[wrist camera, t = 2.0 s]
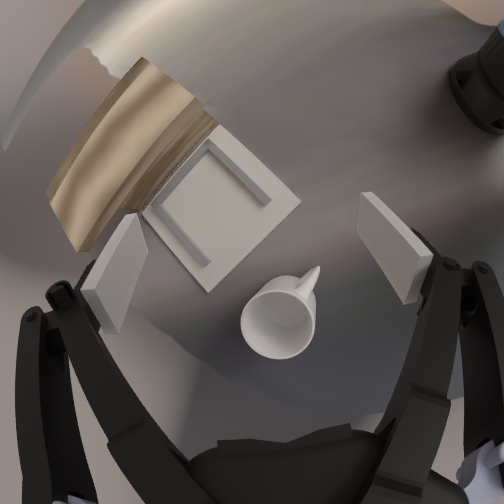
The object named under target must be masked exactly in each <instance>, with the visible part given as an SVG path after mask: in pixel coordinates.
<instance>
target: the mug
mask: <svg viewBox="0 0 504 504" xmlns="http://www.w3.org/2000/svg"><path fill="white" fill-rule="evenodd" d="M319 273H320V267H319V266H316V267H314V268H312V269H311V270H310V271H308V272H307V273H306V274H305V275H303V276H302V277H301V278H297V277H295V276H289V275H284V276H279V277H276V278H274V279H272V280H270V281H269V282H267V283H266V284H265V285H264V286H263V287H262V288H261V289H260V290H259V291H258V292H257V293H256V294H255V295H254V296H253V297H252V298H251V299H250V301H249V302H248V303H247V304H246V306H245V307H244V309H243V312H242V315H241V331H242V334H243V337H244V339H245V341H246V342H247V344H248V345H249V346H250V347H251V348H252V349H253V350H254V351H255V352H257V353H258V354H260V355H262V356H265V357H267V358H271V359H287V358H291V357H293V356H296V355H297V354H299V353H301V352H302V351H303V350H304V349H305V348H306V347H307V346H308V345H309V343H310V342H311V340H312V337H313V334H314V329H315V315H316V300H315V295H314V293H313V291H312V290H313V288H314V286H315V284H316V281H317V279H318V276H319Z"/></svg>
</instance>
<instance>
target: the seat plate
mask: <svg viewBox="0 0 504 504" xmlns="http://www.w3.org/2000/svg"><path fill="white" fill-rule="evenodd" d="M301 203H302V202H301V201H300V200H299V199H298V198H297V197H296V196H295V195H294V194H293V193H292V192H291V191H290V190H289V189H288V188H287V187H286V186H285V185H284V184H283V183H282V182H281V181H280V180H279V179H278V178H277V177H276V176H275V175H274V174H273V173H272V172H271V171H270V170H269V169H268V168H267V167H266V166H265V165H264V164H263V163H262V162H260V161H259V160H258V159H257V158H256V157H255V156H254V155H253V154H252V153H251V152H250V151H249V150H248V149H247V148H245V147H244V146H243V145H242V144H241V143H240V142H239V141H238V140H237V139H236V138H234V137H233V136H232V135H231V134H230V133H229V132H228V131H227V130H225V129H224V128H223V127H222V126H221V125H219V126H218V127H217V128H216V129H215V130H214V131H213V132H212V133H211V134H210V135H209V136H208V137H207V138H206V139H205V140H204V141H203V142H202V143H201V144H200V145H199V146H198V148H197V149H196V150H195V151H194V152H193V153H192V154H191V155H190V156H189V157H188V159H187V160H186V161H185V162H184V163H183V164H182V165H181V166H180V168H179V169H178V170H177V171H176V172H175V173H174V174H173V176H172V177H171V178H170V179H169V180H168V181H167V183H166V184H165V185H164V186H163V187H162V189H161V190H160V191H159V192H158V194H157V195H156V196H155V197H154V198H153V200H152V201H151V202H150V203H149V205H148V206H147V207H146V209H145V210H144V211H143V212H142V215H143V216H144V217H145V218H146V220H147V221H148V222H149V223H150V225H151V226H152V227H153V228H154V230H155V231H156V232H157V233H158V235H159V236H160V237H161V238H162V240H163V241H164V242H165V243H166V244H167V246H168V247H169V248H170V249H171V250H172V252H173V253H174V254H175V255H176V256H177V258H178V259H179V260H180V261H181V262H182V263H183V265H184V266H185V267H186V268H187V269H188V270H189V272H190V273H191V274H192V275H193V276H194V277H195V279H196V280H197V281H198V282H199V283H200V284H201V285H202V287H203V288H204V289H205V290H206V291H207V292H208V293H209V292H210V291H211V290H212V289H213V288H214V287H215V286H216V285H218V284H219V283H220V282H221V281H222V280H223V279H224V278H225V277H226V276H227V275H228V274H229V273H230V272H231V271H232V270H233V269H234V268H235V267H236V266H237V265H238V264H239V263H240V262H241V261H242V260H243V259H244V258H245V257H246V256H247V255H248V254H249V253H250V252H251V251H252V250H253V249H254V248H255V247H256V246H257V245H259V244H260V243H261V242H262V241H263V240H264V239H265V238H266V237H267V236H268V235H269V234H270V233H271V232H272V231H273V230H274V229H275V228H276V227H277V226H278V225H279V224H280V223H281V222H282V221H283V220H284V219H285V218H286V217H287V216H288V215H289V214H290V213H291V212H292V211H293V210H294V209H295V208H296V207H297V206H299V205H300V204H301Z"/></svg>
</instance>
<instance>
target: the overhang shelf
mask: <svg viewBox="0 0 504 504" xmlns="http://www.w3.org/2000/svg"><path fill="white" fill-rule="evenodd" d="M203 106H204V105H203V104H202V103H201V102H200V101H199V100H198V99H197V98H195V97H194V96H193V95H192V94H191V93H189V92H188V91H187V90H186V89H184V88H183V87H182V86H180V85H179V84H178V83H177V82H175V81H174V80H173V79H171V78H170V77H169V76H167V75H166V74H165V73H164V72H162V71H161V70H159V69H158V68H157V67H155V66H154V65H153V64H151V63H150V62H149V61H147V60H146V59H144V58H143V57H141V58H140V59H139V60H138V61H137V62H136V63H135V64H134V66H133V67H132V68H131V69H130V70H129V71H128V72H127V73H126V74H125V76H124V77H123V78H122V79H121V80H120V81H119V83H118V84H117V85H116V86H115V87H114V89H113V90H112V91H111V92H110V94H109V95H108V96H107V97H106V99H105V100H104V101H103V102H102V104H101V105H100V106H99V108H98V109H97V111H96V112H95V113H94V115H93V116H92V117H91V119H90V120H89V122H88V123H87V124H86V126H85V127H84V129H83V130H82V132H81V133H80V135H79V136H78V138H77V139H76V141H75V143H74V144H73V146H72V147H71V149H70V150H69V152H68V154H67V155H66V157H65V159H64V161H63V162H62V164H61V166H60V167H59V169H58V171H57V173H56V175H55V177H54V178H53V180H52V182H51V184H50V186H49V188H48V190H47V192H46V196H47V198H48V200H49V202H50V204H51V206H52V208H53V210H54V212H55V214H56V216H57V218H58V220H59V222H60V224H61V225H62V227H63V229H64V231H65V232H66V234H67V236H68V238H69V240H70V241H71V243H72V245H73V247H74V248H75V250H76V252H77V253H78V252H87V251H90V249H91V248H92V246H93V245H94V243H95V241H96V240H97V238H98V237H99V235H100V234H101V232H102V231H103V229H104V228H105V226H106V225H107V223H108V222H109V220H110V219H111V217H112V216H113V214H114V213H115V211H116V210H117V209H118V208H123V209H137V210H140V209H141V208H142V207H143V205H144V204H145V203H146V202H147V200H148V199H149V198H150V197H151V195H152V194H153V193H154V192H155V190H156V189H157V188H158V187H159V185H160V184H161V183H162V182H163V181H164V179H165V178H166V177H167V176H168V175H169V174H170V172H171V171H172V170H173V169H174V168H175V167H176V165H177V164H178V163H179V162H180V161H181V160H182V159H183V157H184V156H185V155H186V154H187V153H188V152H189V151H190V150H191V149H192V148H193V146H194V145H195V144H196V143H197V142H198V141H199V140H200V139H201V138H202V137H203V136H204V135H205V134H206V133H207V131H208V130H209V129H210V128H211V127H212V126H213V125H214V124H215V123H216V121H215V120H214V119H213V118H212V117H211V116H210V115H209V114H208V113H207V112H206V111H205V110H204V109H202V107H203Z"/></svg>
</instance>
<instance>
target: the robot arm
mask: <svg viewBox="0 0 504 504" xmlns="http://www.w3.org/2000/svg"><path fill="white" fill-rule="evenodd" d="M450 85H451V89H452V92H453V94H454V97H455V99H456V101H457V102H458V104H459V106H460V107H461V109H462V110H463V111H464V113H465V114H466V115H467V116H468V117H469V119H470V120H471V121H472V122H474V123H475V124H476V125H477V126H478V127H480V128H481V129H483V130H484V131H486V132H488V133H491V134H503V133H504V19H503V20H501V21H500V22H499V23H498V27H497V28H496V30H495V31H494V32H493V33H492V35H491V36H490V37H489V39H488V40H487V41H486V42H485V43H484V45H483V46H482V47H481V49H480V50H479V51H478V52H476V53H473V54H471V55H468V56H465V57H463V58H461V59H459V60H458V61H457V62H456V63H455V65H454V66H453V67H452V69H451V72H450ZM356 233H357V234H358V236H359V237H360V239H361V240H362V241H363V243H364V244H365V246H366V247H367V249H368V250H369V252H370V253H371V255H372V256H373V257H374V259H375V260H376V262H377V263H378V265H379V266H380V268H381V269H382V271H383V273H384V274H385V276H386V277H387V279H388V280H389V282H390V283H391V285H392V287H393V288H394V290H395V291H396V293H397V295H398V296H399V298H400V300H401V301H402V303H403V304H404V305H405V304H409V303H414V302H416V301H417V299H418V296H419V294H420V293H421V294H422V296H423V297H424V298H423V301H422V303H421V306H420V308H419V310H418V312H417V315H418V319H417V323H416V327H415V330H414V334H413V337H412V340H411V344H410V347H409V350H408V353H407V356H406V359H405V362H404V365H403V368H402V371H401V374H400V376H399V379H398V382H397V384H396V387H395V390H394V392H393V395H392V397H391V399H390V402H389V404H388V407H387V409H386V411H385V413H384V416H383V418H382V420H381V422H380V423H379V425H378V426H377V428H376V429H375V431H374V433H370V432H367V431H362V430H351V426H350V423H348V424H343V425H339V426H334V427H330V428H325V429H320V430H317V431H315V432H312V433H310V434H308V435H305V436H303V437H300V438H298V439H296V440H293V441H290V442H287V443H280V442H271V441H263V440H255V439H239V440H218V441H217V445H218V446H217V447H215V448H212V449H209V450H207V451H204V452H202V453H200V454H198V455H197V456H195V457H194V458H192V459H191V460H190V461H189V460H188V459H187V458H186V457H185V456H184V455H183V454H182V453H181V452H180V451H179V450H178V449H177V448H176V447H175V445H174V444H173V443H172V442H171V441H170V440H169V439H168V437H167V436H166V435H165V433H164V432H163V431H162V430H161V429H160V427H159V426H158V425H157V423H156V422H155V421H154V419H153V418H152V417H151V415H150V414H149V413H148V411H147V410H146V408H145V407H144V406H143V404H142V403H141V401H140V400H139V398H138V397H137V396H136V394H135V393H134V391H133V390H132V388H131V387H130V385H129V384H128V382H127V380H126V379H125V377H124V376H123V374H122V373H121V371H120V369H119V368H118V366H117V364H116V363H115V361H114V359H113V358H112V356H111V354H110V352H109V351H108V349H107V347H106V345H105V344H104V342H103V340H102V338H101V336H100V335H99V333H98V331H99V329H100V326H101V327H102V329H103V331H104V332H105V334H120V331H121V328H122V325H123V322H124V318H125V315H126V312H127V309H128V306H129V304H130V301H131V298H132V295H133V292H134V289H135V287H136V284H137V281H138V278H139V276H140V273H141V270H142V268H143V265H144V263H145V260H146V257H147V255H148V249H147V245H146V242H145V239H144V235H143V232H142V229H141V225H140V222H139V218H138V215H137V213H133V214H127V215H125V216H124V218H123V219H122V221H121V222H120V224H119V225H118V227H117V228H116V230H115V231H114V233H113V235H112V236H111V238H110V239H109V241H108V243H107V244H106V246H105V247H104V249H103V251H102V252H101V254H100V256H99V257H98V259H97V260H93V261H92V262H91V263H90V264H89V265H88V266H87V267H86V269H85V271H84V273H83V274H82V276H81V278H80V280H79V281H78V283H77V285H76V286H75V288H74V290H73V289H72V287H71V285H70V283H69V282H68V281H65V280H63V281H59V282H57V283H55V284H53V285H52V286H51V287H50V288H49V289H48V290H47V292H46V296H45V297H46V299H47V301H48V303H49V304H50V306H51V307H52V309H53V311H50V312H47V313H44V312H43V311H42V309H41V308H40V307H38V306H35V307H31V308H30V309H28V310H27V311H26V312H25V313H24V315H23V316H22V319H21V324H20V331H19V339H18V348H17V359H16V377H15V378H16V379H15V412H16V413H15V415H16V430H17V441H18V450H19V458H20V464H21V470H22V475H23V481H22V504H98V499H97V494H96V490H95V486H94V483H93V479H92V476H91V473H90V470H89V467H88V463H87V459H86V456H85V452H84V448H83V444H82V440H81V436H80V431H79V427H78V422H77V417H76V412H75V406H74V400H73V393H72V386H71V378H70V369H69V358H70V361H71V363H72V366H73V368H74V371H75V373H76V376H77V378H78V380H79V383H80V385H81V387H82V389H83V392H84V394H85V396H86V398H87V400H88V402H89V404H90V406H91V408H92V410H93V412H94V414H95V416H96V418H97V420H98V422H99V424H100V426H101V427H102V429H103V431H104V433H105V434H106V436H107V438H108V441H109V442H108V443H107V447H108V449H109V451H110V453H111V455H112V457H113V458H114V460H115V461H116V463H117V465H118V466H119V468H120V469H121V471H122V472H123V474H124V475H125V477H126V478H127V479H128V481H129V482H130V484H131V485H132V487H133V488H134V489H135V491H136V492H137V493H138V495H139V496H140V497H141V499H142V500H143V501H144V502H145V504H490V503H492V502H493V501H495V500H496V499H498V498H499V497H501V496H503V495H504V297H503V294H502V292H501V289H500V286H499V284H498V281H497V279H496V276H495V274H494V272H493V270H492V268H491V267H490V266H489V265H488V264H486V263H485V262H481V261H475V262H474V263H473V265H472V267H471V269H463V268H461V266H460V265H459V263H458V262H456V261H455V260H453V259H451V258H447V257H441V256H440V254H439V253H438V252H437V251H436V250H435V249H434V248H433V247H432V246H431V245H430V244H429V242H428V241H427V240H425V238H424V237H423V236H422V235H421V234H420V233H419V232H417V231H415V230H414V229H412V228H411V229H409V228H408V227H407V226H406V225H405V224H404V223H403V222H402V220H401V219H400V218H399V217H398V216H397V215H396V214H395V213H394V212H392V211H391V210H390V209H389V208H388V207H387V206H386V205H385V204H384V203H383V202H382V201H381V200H380V199H379V198H378V197H377V196H376V195H375V194H374V193H373V192H361V193H360V203H359V211H358V219H357V227H356ZM458 331H459V338H460V346H461V355H462V366H463V381H464V443H463V444H464V458H465V459H464V461H463V462H462V465H461V467H460V468H459V469H458V470H457V473H456V478H457V480H458V481H459V482H458V484H455V483H454V482H452V481H450V480H448V479H447V478H445V477H443V476H441V475H440V474H438V473H436V472H435V471H433V470H431V467H432V464H433V462H434V459H435V456H436V454H437V451H438V448H439V445H440V442H441V439H442V436H443V432H444V429H445V426H446V422H447V419H448V415H449V412H450V407H451V401H450V400H449V399H447V392H448V388H449V384H450V379H451V374H452V369H453V363H454V357H455V351H456V344H457V337H458ZM68 355H69V358H68Z"/></svg>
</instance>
